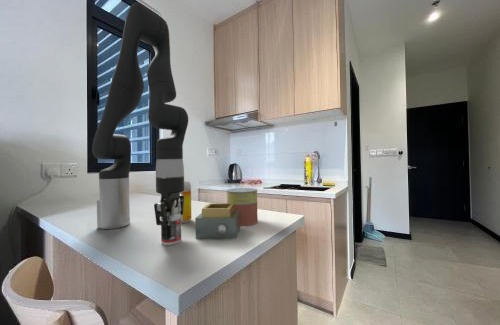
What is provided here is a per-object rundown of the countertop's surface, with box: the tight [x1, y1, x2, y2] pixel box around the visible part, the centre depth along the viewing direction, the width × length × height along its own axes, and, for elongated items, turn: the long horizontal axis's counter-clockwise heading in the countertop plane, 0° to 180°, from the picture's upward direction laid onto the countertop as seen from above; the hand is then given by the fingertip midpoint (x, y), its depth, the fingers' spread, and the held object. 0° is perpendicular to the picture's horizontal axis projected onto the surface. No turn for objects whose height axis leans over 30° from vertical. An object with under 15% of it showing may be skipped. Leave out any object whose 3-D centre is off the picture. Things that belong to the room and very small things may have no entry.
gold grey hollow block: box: [194, 202, 241, 240], centre depth 66 cm, size 12×12×8 cm
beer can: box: [179, 180, 192, 224], centre depth 82 cm, size 6×6×15 cm
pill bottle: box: [160, 207, 182, 246], centre depth 60 cm, size 5×5×10 cm
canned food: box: [226, 187, 259, 228], centre depth 79 cm, size 11×11×12 cm
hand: (171, 234), depth 60 cm, fingers closed on pill bottle, 5 cm apart
